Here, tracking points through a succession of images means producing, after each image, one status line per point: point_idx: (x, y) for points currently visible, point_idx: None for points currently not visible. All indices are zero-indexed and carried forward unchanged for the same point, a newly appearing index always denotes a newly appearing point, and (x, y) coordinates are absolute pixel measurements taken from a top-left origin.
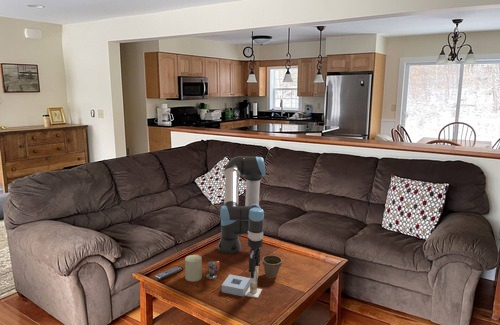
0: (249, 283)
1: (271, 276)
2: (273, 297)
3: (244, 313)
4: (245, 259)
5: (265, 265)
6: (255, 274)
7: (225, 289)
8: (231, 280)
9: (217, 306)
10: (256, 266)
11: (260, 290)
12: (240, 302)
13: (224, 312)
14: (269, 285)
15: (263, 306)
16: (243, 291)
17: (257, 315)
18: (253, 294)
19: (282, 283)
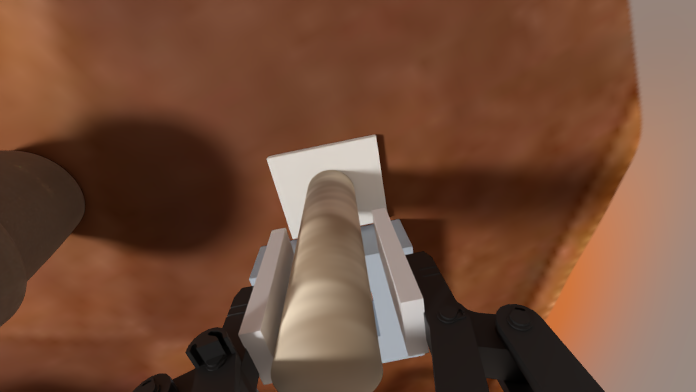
0: None
1: (59, 177)
2: (302, 29)
3: (567, 126)
4: (35, 389)
5: (15, 280)
6: (355, 268)
7: None
8: None
9: (537, 272)
10: (300, 359)
11: (288, 159)
12: (464, 201)
13: (579, 222)
14: (171, 138)
15: (452, 47)
16: (405, 236)
17: (571, 35)
18: (361, 176)
19: (53, 54)
